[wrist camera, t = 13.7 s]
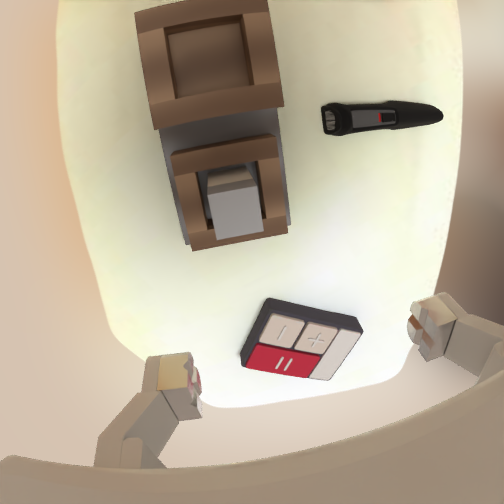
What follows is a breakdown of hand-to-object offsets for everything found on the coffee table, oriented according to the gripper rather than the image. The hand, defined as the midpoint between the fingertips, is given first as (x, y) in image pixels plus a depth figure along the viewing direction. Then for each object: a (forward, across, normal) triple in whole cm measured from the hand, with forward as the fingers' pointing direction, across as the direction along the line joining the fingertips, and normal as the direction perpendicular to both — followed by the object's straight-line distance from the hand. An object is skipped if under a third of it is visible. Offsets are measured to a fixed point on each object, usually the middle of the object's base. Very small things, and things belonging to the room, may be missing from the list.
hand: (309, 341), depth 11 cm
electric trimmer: (+27, -17, -4) cm, 32 cm away
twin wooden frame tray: (+26, +1, -5) cm, 27 cm away
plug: (+25, +1, +2) cm, 25 cm away
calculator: (+27, -5, +26) cm, 37 cm away
